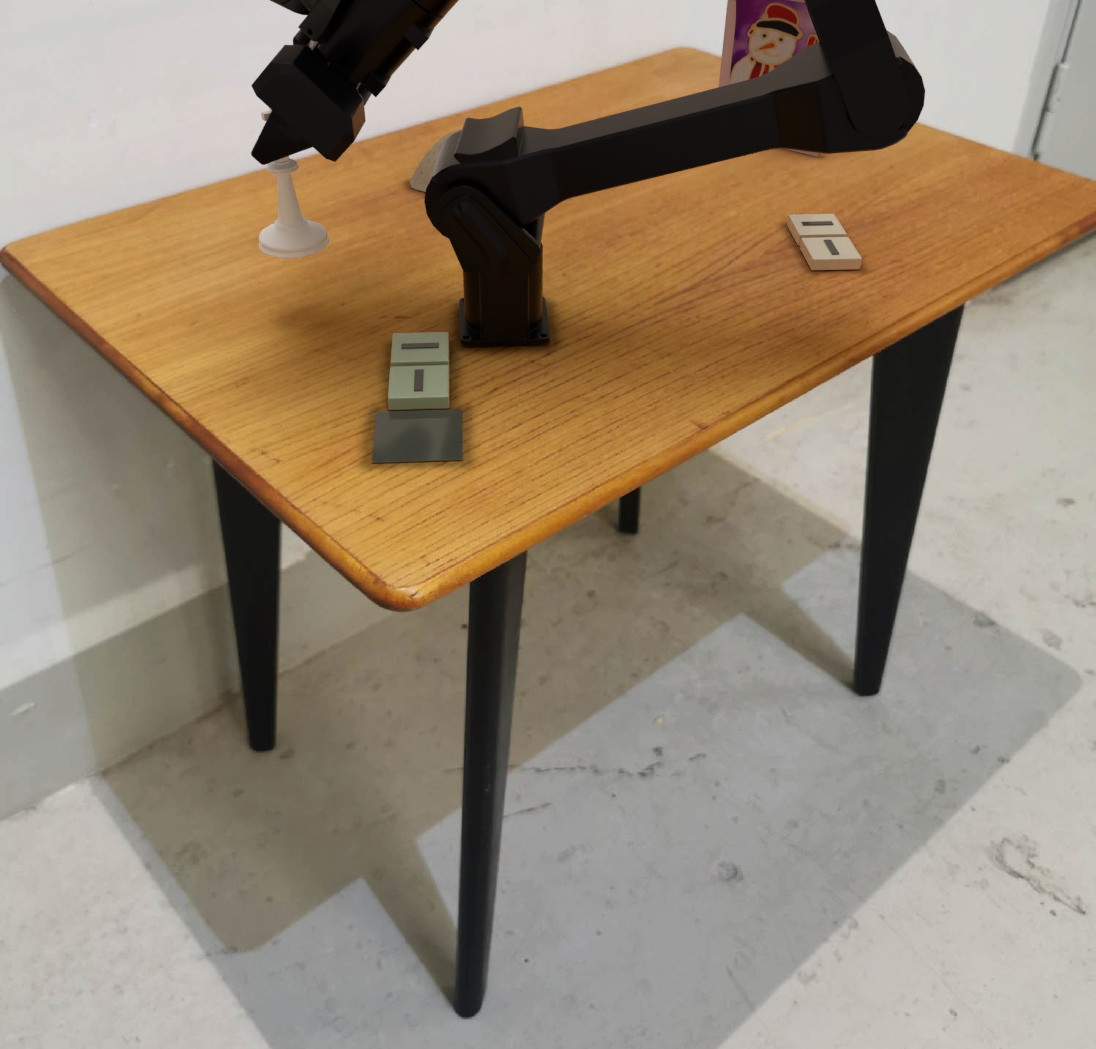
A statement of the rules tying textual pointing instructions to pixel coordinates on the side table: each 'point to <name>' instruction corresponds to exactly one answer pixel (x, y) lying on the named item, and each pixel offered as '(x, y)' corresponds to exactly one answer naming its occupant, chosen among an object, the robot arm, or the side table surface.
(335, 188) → the side table surface
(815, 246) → the beige domino tile
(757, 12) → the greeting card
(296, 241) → the chess piece
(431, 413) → the green and grey panel
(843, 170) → the side table surface
